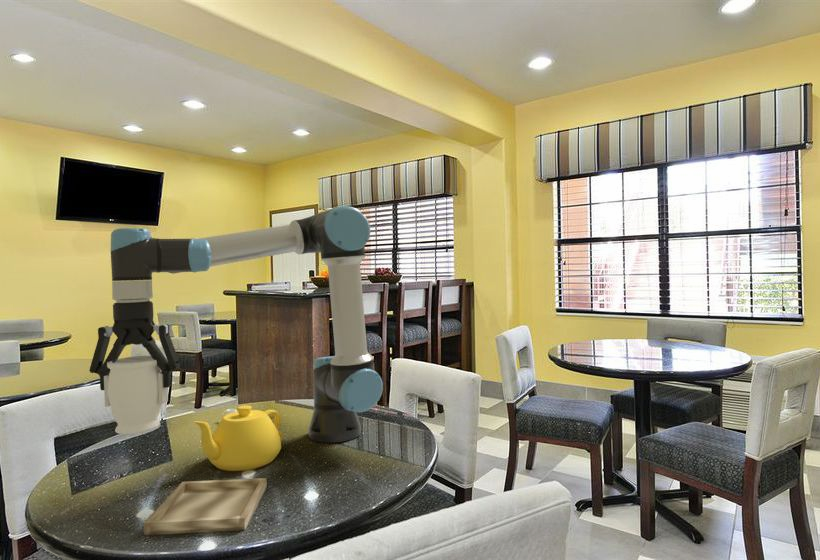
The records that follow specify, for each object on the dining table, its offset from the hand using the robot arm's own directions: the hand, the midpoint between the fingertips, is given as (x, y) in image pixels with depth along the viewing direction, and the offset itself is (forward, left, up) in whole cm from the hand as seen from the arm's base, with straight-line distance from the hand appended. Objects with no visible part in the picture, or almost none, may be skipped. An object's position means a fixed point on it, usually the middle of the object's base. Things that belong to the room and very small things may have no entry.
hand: (137, 403), depth 106 cm
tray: (-18, +8, -20) cm, 28 cm away
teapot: (-17, -18, -20) cm, 32 cm away
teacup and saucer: (-6, -52, -21) cm, 56 cm away
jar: (0, 0, -6) cm, 6 cm away
